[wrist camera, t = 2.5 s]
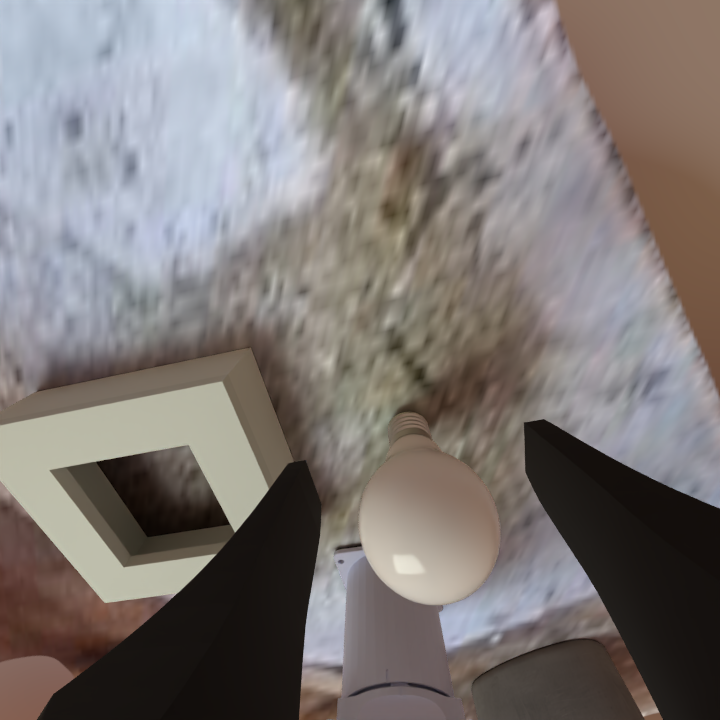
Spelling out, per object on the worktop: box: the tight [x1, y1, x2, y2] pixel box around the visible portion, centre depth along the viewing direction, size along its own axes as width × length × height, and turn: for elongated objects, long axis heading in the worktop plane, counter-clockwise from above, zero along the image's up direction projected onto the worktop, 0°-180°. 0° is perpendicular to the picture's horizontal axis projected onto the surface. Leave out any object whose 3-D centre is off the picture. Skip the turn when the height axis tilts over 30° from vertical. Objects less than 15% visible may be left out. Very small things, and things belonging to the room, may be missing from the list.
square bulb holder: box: [0, 347, 294, 603], centre depth 22 cm, size 15×15×4 cm
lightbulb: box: [358, 412, 501, 605], centre depth 18 cm, size 6×6×11 cm
